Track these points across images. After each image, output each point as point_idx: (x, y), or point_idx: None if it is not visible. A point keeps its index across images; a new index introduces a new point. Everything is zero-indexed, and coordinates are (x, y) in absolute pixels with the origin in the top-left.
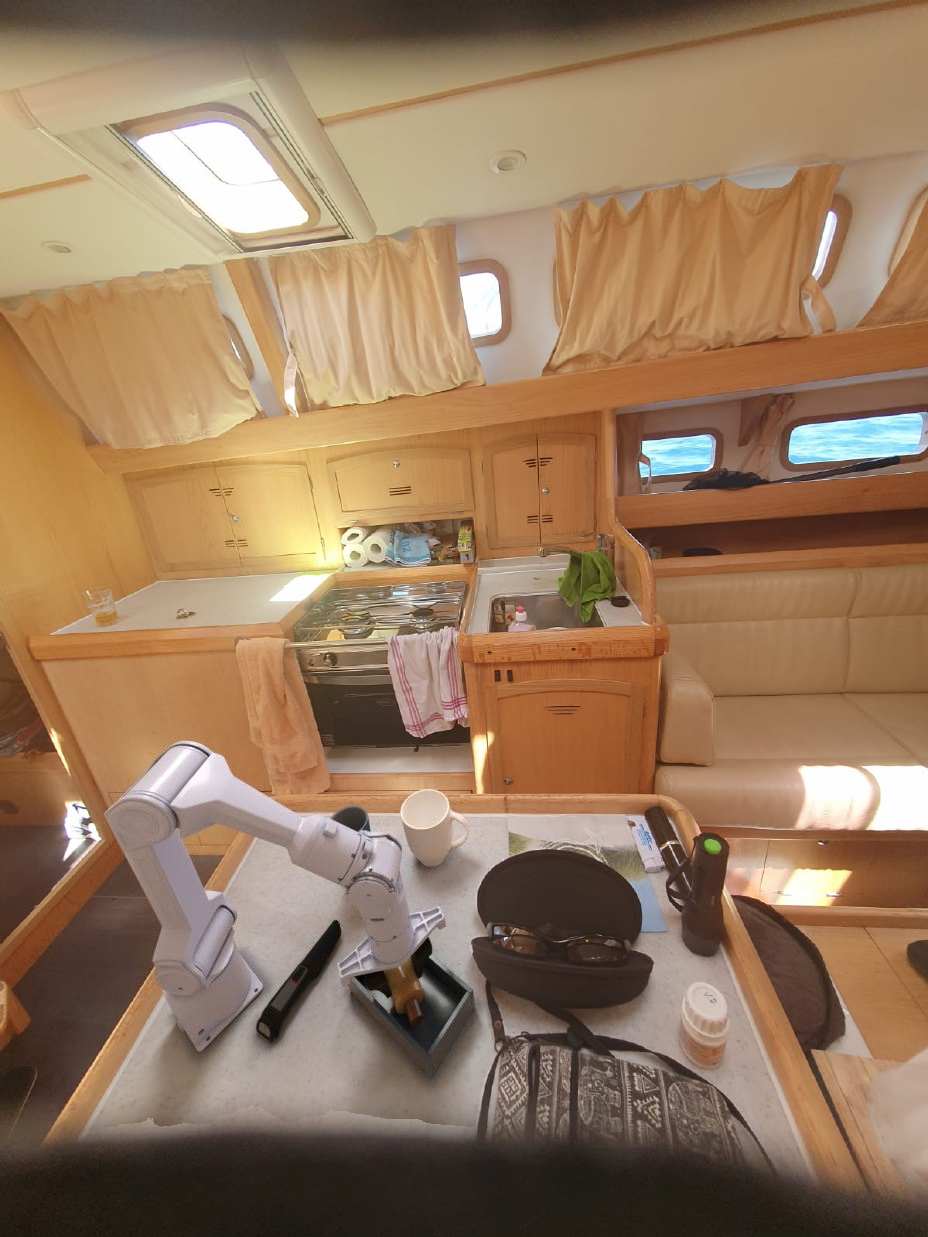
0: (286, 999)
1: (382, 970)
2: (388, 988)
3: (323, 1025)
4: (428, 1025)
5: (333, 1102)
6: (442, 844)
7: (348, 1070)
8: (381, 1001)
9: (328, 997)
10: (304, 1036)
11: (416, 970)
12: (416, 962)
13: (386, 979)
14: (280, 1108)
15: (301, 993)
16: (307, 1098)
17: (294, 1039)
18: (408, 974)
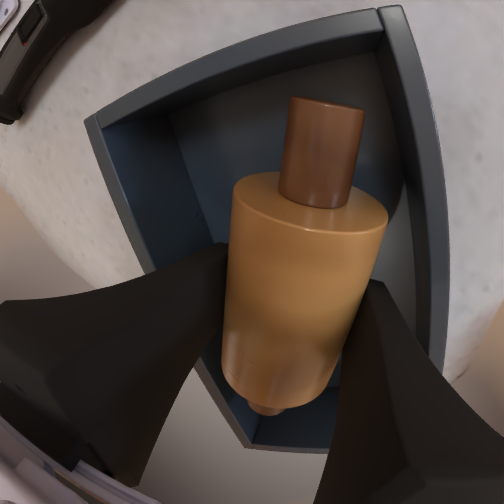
0: (9, 75)
1: (121, 470)
2: (192, 367)
3: (88, 145)
4: None
5: (98, 281)
6: None
7: (124, 263)
8: (227, 208)
9: (107, 85)
10: (57, 142)
11: (345, 366)
12: (327, 466)
13: (217, 286)
14: (34, 224)
15: (53, 53)
16: (63, 244)
17: (44, 135)
18: (302, 369)
